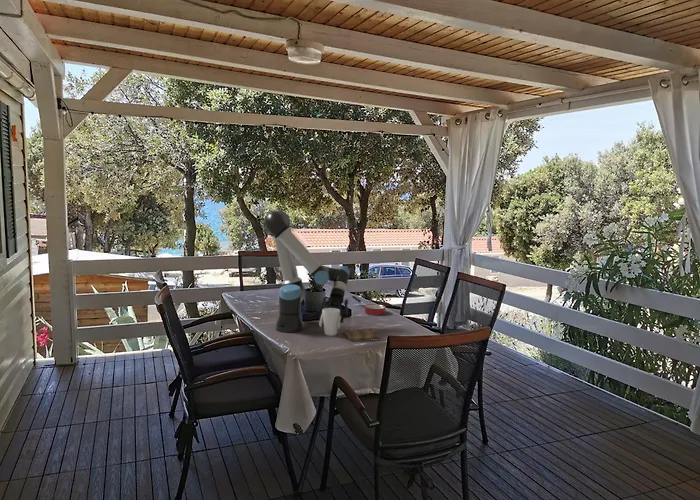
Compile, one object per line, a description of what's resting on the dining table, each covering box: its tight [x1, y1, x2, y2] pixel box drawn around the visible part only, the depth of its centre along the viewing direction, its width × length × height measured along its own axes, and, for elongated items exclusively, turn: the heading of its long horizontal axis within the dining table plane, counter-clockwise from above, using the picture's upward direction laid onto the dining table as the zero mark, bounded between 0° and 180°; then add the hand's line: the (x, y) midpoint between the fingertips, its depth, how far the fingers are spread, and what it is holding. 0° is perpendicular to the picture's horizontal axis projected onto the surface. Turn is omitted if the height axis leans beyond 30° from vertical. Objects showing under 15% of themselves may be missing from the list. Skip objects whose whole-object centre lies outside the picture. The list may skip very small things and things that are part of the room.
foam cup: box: [322, 307, 341, 337], centre depth 258 cm, size 10×9×13 cm
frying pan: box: [351, 295, 386, 316], centre depth 315 cm, size 32×13×6 cm, turn 39°
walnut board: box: [342, 328, 381, 342], centre depth 256 cm, size 16×15×2 cm
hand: (329, 326), depth 255 cm, fingers closed on foam cup, 9 cm apart
